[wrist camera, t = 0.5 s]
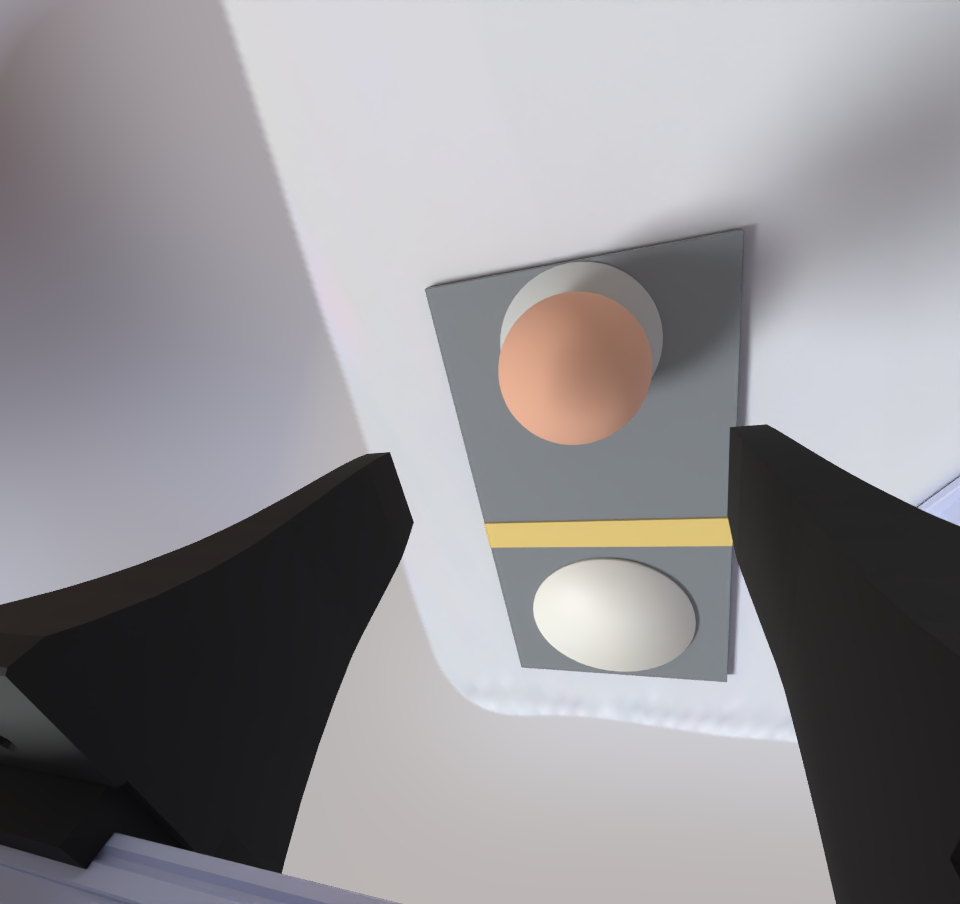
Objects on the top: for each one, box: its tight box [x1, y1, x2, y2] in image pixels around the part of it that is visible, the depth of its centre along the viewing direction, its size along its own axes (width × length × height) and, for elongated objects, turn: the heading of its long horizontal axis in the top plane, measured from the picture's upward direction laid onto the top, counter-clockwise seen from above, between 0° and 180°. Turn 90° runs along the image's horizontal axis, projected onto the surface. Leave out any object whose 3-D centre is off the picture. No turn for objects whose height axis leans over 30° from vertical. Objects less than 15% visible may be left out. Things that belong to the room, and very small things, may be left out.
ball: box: [498, 291, 652, 445], centre depth 16 cm, size 5×5×5 cm
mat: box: [425, 229, 744, 682], centre depth 22 cm, size 22×11×1 cm, turn 12°
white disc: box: [533, 558, 696, 672], centre depth 25 cm, size 8×8×1 cm
